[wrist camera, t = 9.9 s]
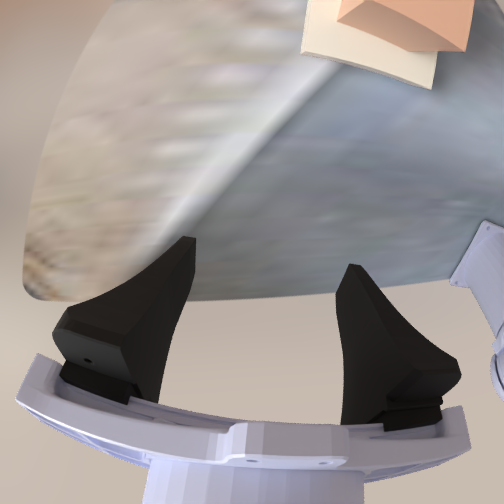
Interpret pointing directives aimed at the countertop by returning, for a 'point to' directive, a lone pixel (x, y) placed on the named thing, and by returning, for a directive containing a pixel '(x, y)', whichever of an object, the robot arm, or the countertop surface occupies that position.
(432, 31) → the terracotta brick
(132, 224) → the countertop surface
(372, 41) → the cream base brick
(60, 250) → the countertop surface
